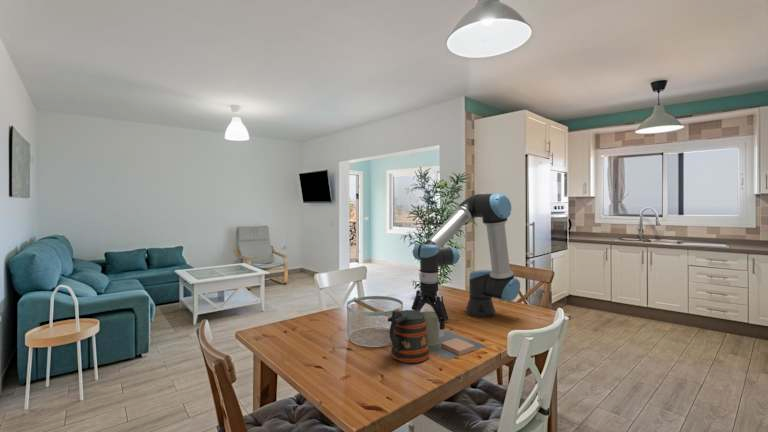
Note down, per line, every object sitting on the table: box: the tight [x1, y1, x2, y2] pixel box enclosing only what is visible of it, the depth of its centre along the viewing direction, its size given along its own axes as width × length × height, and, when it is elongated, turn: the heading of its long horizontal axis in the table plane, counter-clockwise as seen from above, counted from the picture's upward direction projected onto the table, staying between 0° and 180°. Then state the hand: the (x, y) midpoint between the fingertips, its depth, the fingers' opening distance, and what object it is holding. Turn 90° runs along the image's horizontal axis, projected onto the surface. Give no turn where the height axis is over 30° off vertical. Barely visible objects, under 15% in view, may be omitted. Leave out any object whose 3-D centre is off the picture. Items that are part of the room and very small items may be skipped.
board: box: [428, 330, 487, 361], centre depth 149 cm, size 22×22×1 cm
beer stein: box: [387, 309, 430, 364], centre depth 138 cm, size 19×15×20 cm
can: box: [420, 310, 440, 346], centre depth 151 cm, size 9×9×12 cm
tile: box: [441, 338, 476, 357], centre depth 144 cm, size 2×10×9 cm
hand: (429, 331), depth 151 cm, fingers open, 13 cm apart
